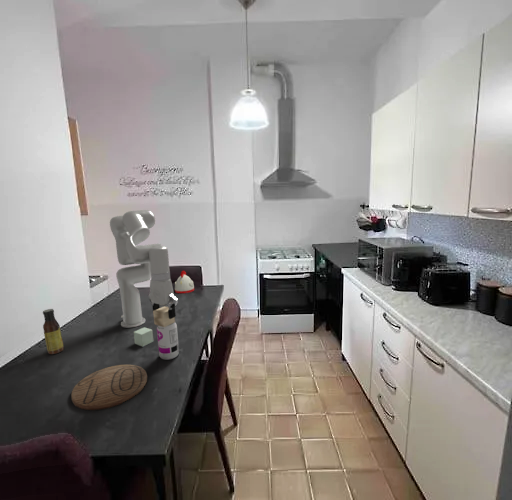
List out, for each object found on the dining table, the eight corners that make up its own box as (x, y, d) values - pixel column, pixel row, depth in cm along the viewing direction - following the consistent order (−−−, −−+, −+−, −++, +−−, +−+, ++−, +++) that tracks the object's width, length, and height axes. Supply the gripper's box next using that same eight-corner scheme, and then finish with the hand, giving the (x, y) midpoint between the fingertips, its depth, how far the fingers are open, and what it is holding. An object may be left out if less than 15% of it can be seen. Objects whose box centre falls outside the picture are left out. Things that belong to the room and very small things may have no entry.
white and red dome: (171, 293, 222) (170, 273, 220) (179, 287, 236) (178, 268, 233) (190, 293, 220) (188, 273, 217) (197, 287, 233) (195, 268, 231)
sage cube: (134, 343, 147) (133, 331, 146) (145, 338, 151) (144, 327, 150) (143, 346, 143) (141, 334, 142) (153, 341, 148) (152, 329, 147)
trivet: (66, 420, 97) (65, 415, 97) (76, 378, 120) (76, 374, 120) (150, 397, 107) (149, 392, 106) (144, 363, 129) (144, 358, 129)
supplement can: (161, 362, 129) (158, 328, 126) (158, 353, 136) (154, 321, 133) (181, 357, 132) (178, 324, 130) (176, 349, 140) (173, 317, 137)
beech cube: (154, 324, 131) (153, 310, 129) (165, 319, 135) (164, 306, 134) (164, 327, 127) (162, 313, 126) (175, 322, 132) (173, 308, 131)
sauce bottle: (67, 349, 144) (60, 308, 140) (54, 355, 138) (47, 313, 134) (56, 347, 146) (50, 307, 142) (44, 353, 140) (36, 312, 136)
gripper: (139, 276, 130) (143, 315, 132) (167, 281, 120) (171, 322, 123) (154, 272, 136) (157, 309, 139) (182, 276, 126) (185, 316, 129)
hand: (164, 315), depth 131 cm, fingers open, 9 cm apart
